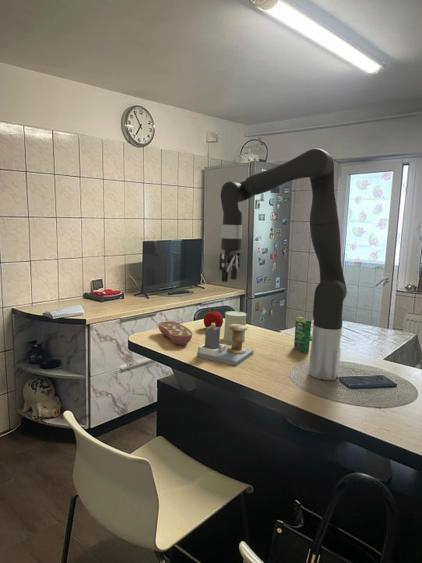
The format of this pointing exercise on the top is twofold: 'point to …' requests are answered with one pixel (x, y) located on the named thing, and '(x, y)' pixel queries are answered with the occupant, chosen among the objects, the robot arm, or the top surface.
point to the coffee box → (302, 334)
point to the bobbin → (237, 339)
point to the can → (233, 318)
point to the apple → (213, 319)
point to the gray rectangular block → (212, 337)
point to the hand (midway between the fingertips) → (229, 280)
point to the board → (223, 354)
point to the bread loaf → (175, 332)
